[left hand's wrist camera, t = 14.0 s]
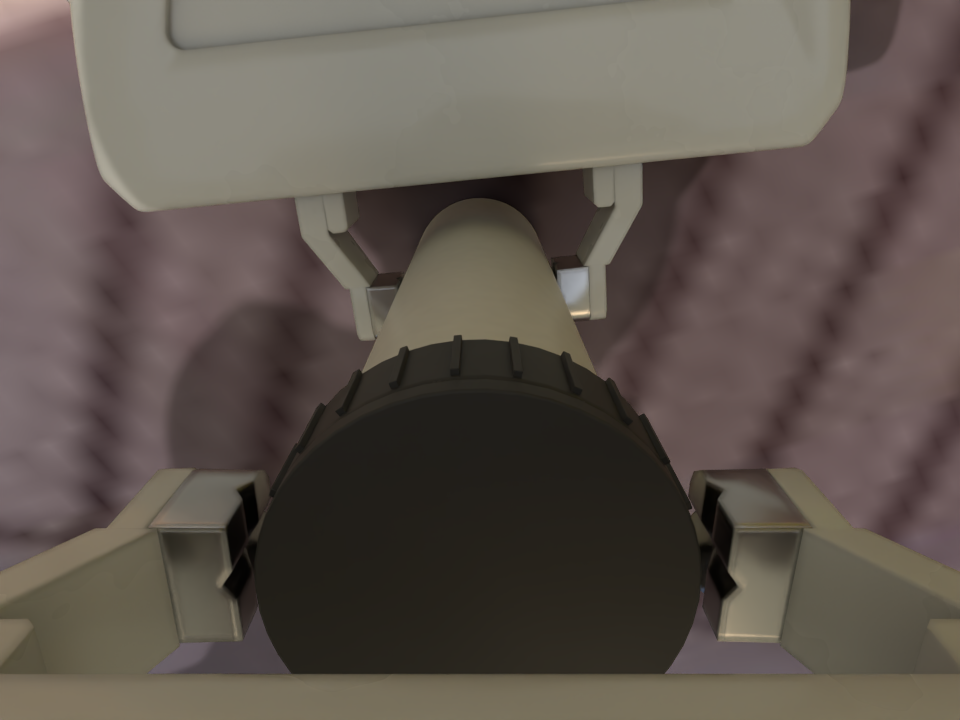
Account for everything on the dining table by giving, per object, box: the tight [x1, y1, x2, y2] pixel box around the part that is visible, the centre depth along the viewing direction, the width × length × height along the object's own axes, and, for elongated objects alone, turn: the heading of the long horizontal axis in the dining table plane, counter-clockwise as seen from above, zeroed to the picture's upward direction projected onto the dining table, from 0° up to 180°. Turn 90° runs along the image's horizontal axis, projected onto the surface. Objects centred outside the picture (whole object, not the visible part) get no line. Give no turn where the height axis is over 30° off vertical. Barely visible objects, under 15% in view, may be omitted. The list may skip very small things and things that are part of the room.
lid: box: [255, 335, 702, 674], centre depth 9 cm, size 6×6×2 cm
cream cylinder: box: [362, 198, 597, 375], centre depth 18 cm, size 5×5×19 cm
